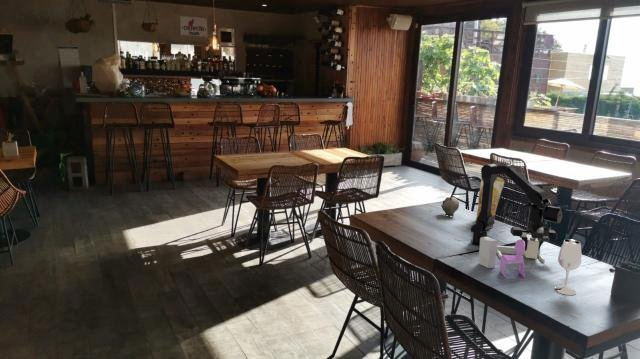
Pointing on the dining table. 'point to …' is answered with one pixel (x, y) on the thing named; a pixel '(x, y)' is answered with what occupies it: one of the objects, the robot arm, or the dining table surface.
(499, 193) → the pancake mix bag
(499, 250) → the white post rack
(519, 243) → the toy chair
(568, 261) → the wineglass
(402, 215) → the dining table surface
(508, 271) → the dining table surface
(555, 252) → the dining table surface
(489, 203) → the robot arm
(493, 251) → the skincare box
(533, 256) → the cream rectangular block
